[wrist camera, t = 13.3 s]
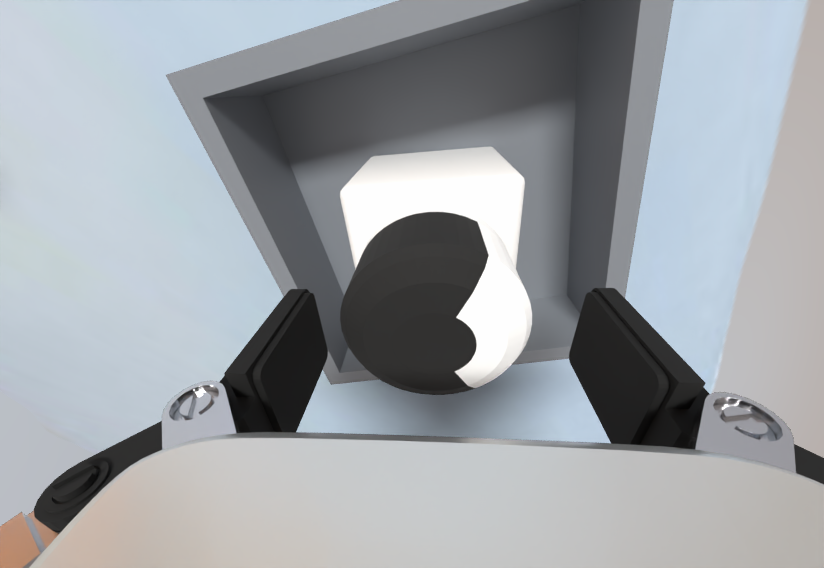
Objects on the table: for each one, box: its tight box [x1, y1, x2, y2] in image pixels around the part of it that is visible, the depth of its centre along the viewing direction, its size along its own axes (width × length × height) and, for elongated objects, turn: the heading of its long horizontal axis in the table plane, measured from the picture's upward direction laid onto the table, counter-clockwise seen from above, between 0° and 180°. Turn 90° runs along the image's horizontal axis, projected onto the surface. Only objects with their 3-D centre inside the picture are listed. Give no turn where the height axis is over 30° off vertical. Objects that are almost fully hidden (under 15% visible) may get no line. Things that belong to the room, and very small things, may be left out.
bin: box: [166, 0, 674, 384], centre depth 18 cm, size 18×18×6 cm
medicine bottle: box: [340, 147, 532, 395], centre depth 14 cm, size 7×7×12 cm
